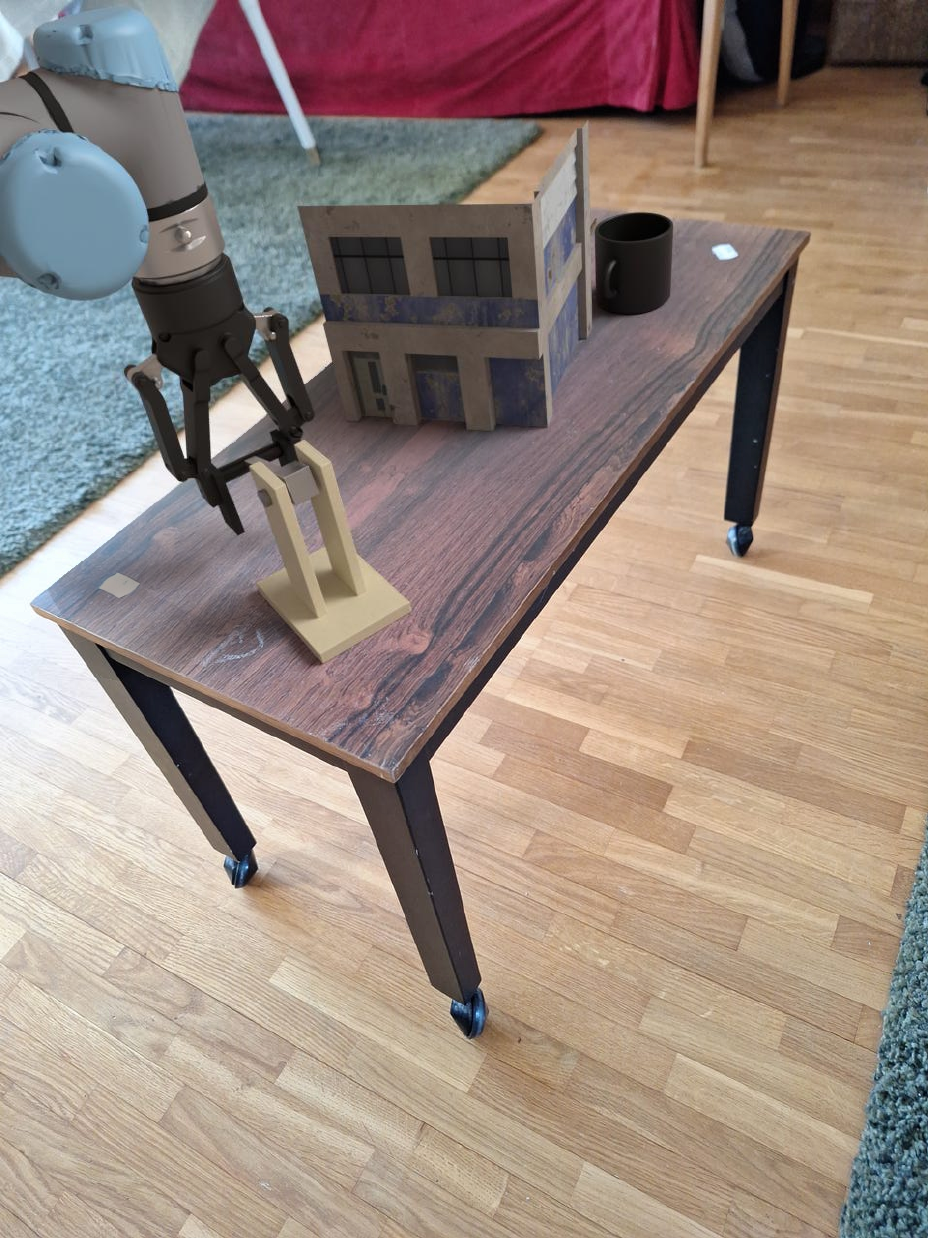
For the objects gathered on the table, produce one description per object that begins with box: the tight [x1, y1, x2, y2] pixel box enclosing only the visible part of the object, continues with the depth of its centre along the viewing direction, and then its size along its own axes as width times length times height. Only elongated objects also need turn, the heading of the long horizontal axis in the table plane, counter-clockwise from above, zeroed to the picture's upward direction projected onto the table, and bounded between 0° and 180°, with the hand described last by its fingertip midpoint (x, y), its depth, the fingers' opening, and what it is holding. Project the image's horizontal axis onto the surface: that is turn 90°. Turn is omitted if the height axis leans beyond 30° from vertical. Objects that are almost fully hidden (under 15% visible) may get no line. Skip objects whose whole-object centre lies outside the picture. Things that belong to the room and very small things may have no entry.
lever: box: [216, 441, 320, 506], centre depth 71 cm, size 13×6×2 cm, turn 37°
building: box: [296, 120, 593, 432], centre depth 94 cm, size 23×24×23 cm
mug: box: [594, 211, 674, 315], centre depth 107 cm, size 9×12×9 cm
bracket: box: [249, 439, 412, 665], centre depth 71 cm, size 12×9×15 cm
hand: (267, 510), depth 80 cm, fingers closed on lever, 6 cm apart
